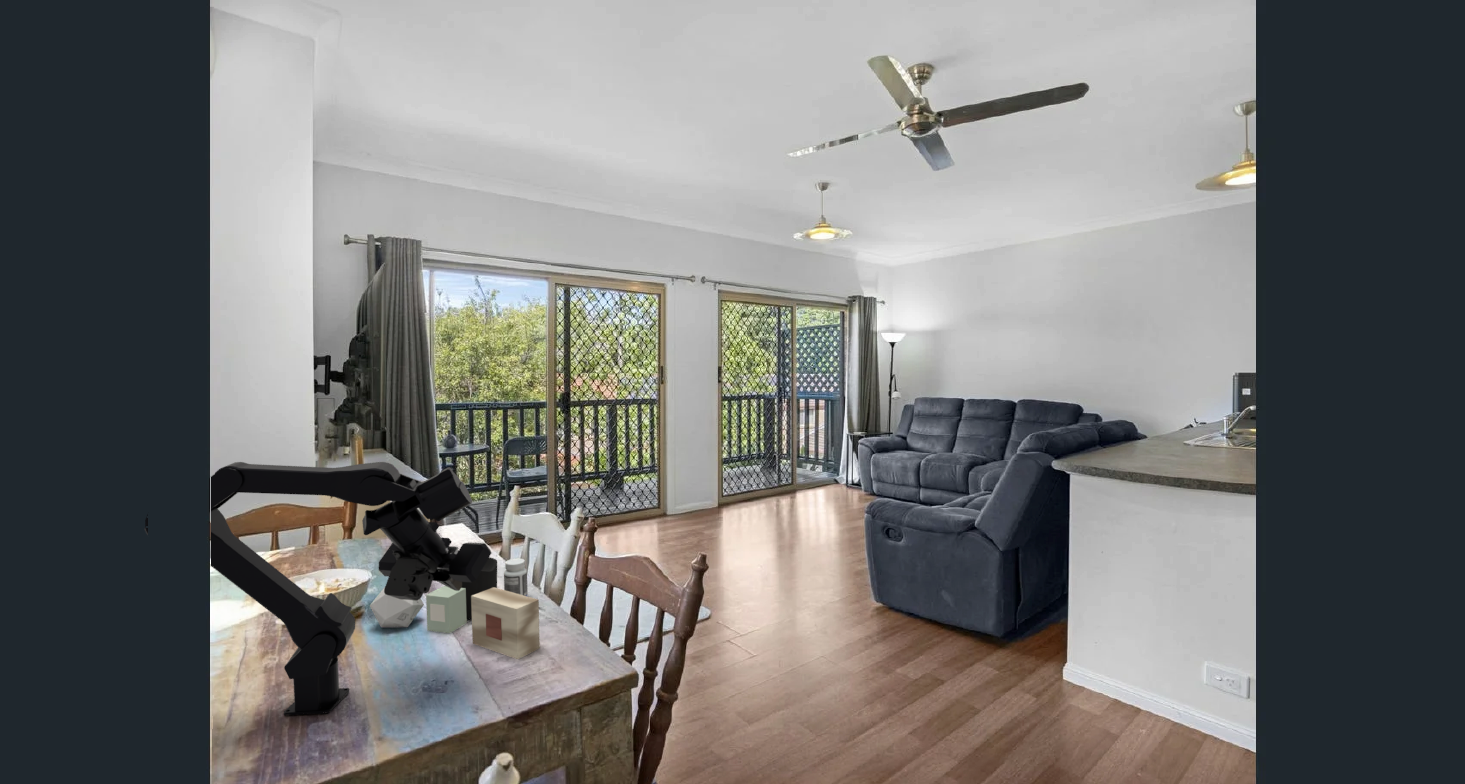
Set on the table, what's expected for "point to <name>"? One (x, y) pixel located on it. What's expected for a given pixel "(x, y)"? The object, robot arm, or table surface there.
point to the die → (395, 610)
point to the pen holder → (481, 583)
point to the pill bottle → (515, 576)
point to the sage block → (446, 609)
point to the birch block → (505, 622)
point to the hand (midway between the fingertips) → (458, 588)
